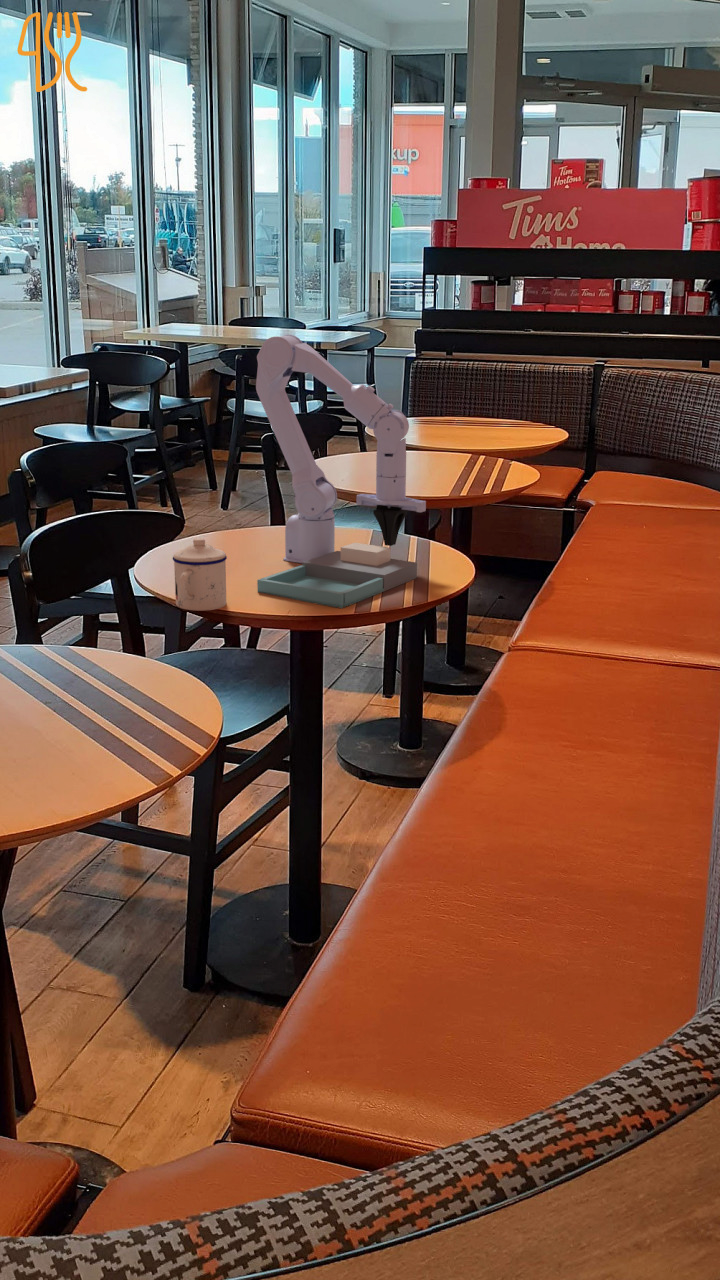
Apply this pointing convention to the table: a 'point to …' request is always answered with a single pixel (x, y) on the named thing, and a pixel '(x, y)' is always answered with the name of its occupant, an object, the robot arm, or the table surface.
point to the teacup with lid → (200, 577)
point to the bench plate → (360, 570)
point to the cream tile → (365, 554)
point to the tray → (317, 588)
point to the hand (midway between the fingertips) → (390, 544)
